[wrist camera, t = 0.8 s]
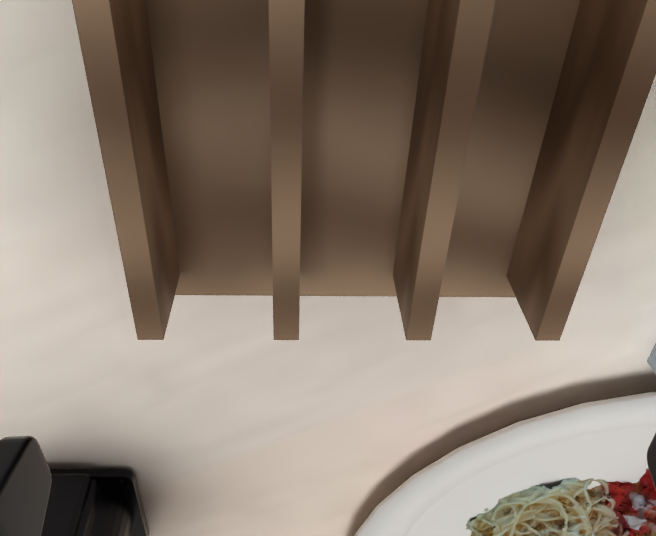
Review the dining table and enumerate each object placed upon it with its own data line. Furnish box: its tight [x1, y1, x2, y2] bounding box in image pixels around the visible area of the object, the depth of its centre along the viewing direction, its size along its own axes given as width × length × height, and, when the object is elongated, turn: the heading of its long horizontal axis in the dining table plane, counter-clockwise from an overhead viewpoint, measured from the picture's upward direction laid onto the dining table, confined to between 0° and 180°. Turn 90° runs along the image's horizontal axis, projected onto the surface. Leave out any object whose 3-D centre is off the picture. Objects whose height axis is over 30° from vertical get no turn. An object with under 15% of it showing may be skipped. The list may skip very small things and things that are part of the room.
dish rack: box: [72, 0, 656, 340], centre depth 17 cm, size 18×15×4 cm
